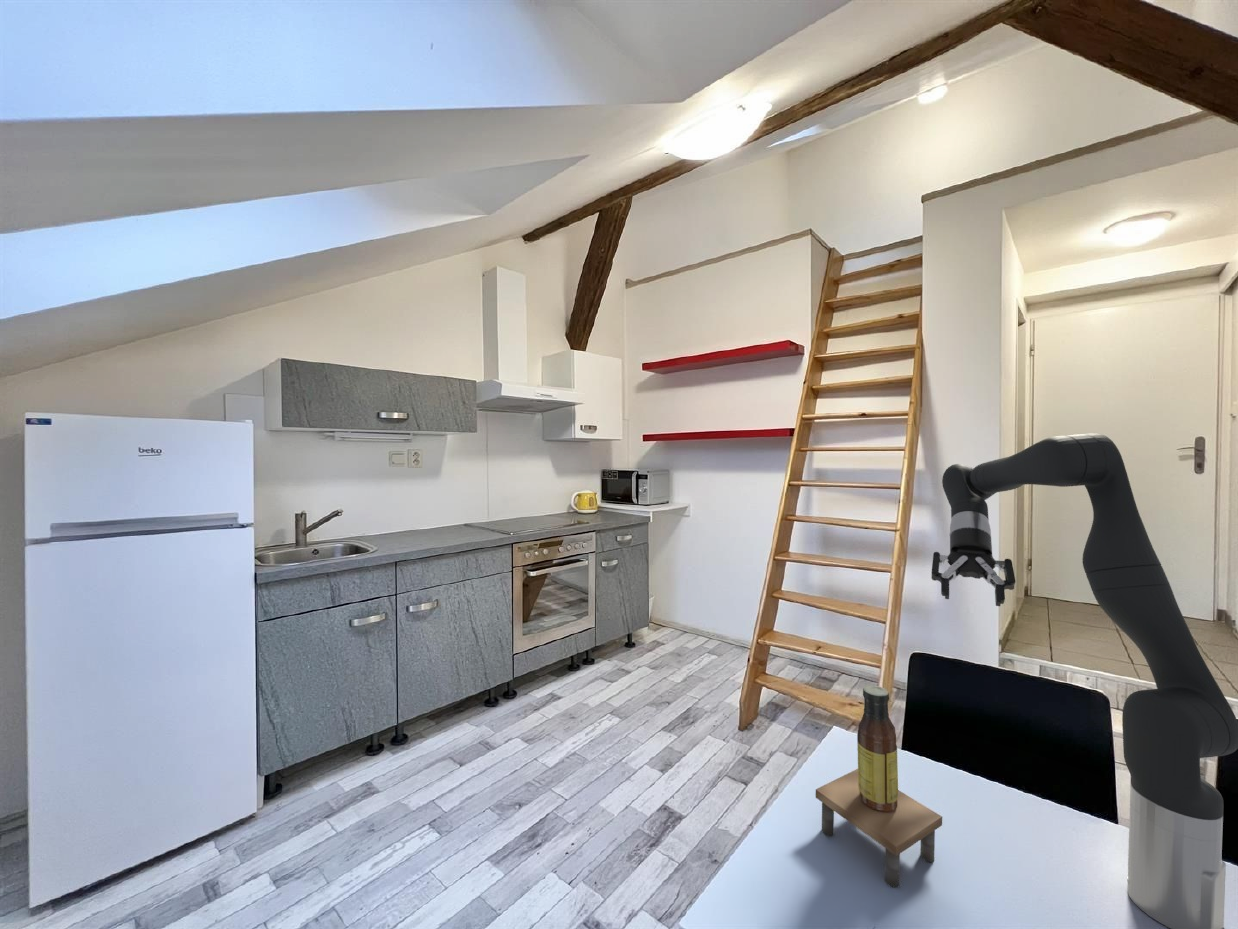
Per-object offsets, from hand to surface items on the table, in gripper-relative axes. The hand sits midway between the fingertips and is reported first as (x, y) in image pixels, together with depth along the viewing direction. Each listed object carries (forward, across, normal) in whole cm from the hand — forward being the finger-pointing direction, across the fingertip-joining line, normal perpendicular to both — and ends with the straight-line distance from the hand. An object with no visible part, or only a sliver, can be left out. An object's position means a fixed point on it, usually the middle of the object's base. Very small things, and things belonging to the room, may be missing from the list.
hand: (972, 600), depth 101 cm
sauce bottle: (+41, -14, +3) cm, 44 cm away
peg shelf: (+46, -15, +8) cm, 49 cm away
